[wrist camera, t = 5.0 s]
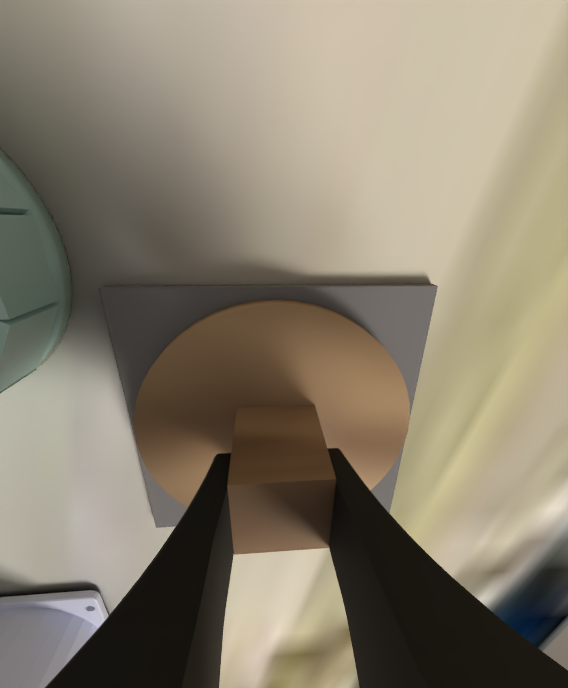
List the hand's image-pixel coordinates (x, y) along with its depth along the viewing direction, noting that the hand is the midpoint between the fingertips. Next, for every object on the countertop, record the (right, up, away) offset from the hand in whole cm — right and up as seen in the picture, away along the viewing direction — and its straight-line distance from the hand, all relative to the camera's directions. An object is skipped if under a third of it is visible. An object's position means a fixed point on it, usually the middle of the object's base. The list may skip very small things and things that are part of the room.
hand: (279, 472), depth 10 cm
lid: (0, +1, +2) cm, 3 cm away
